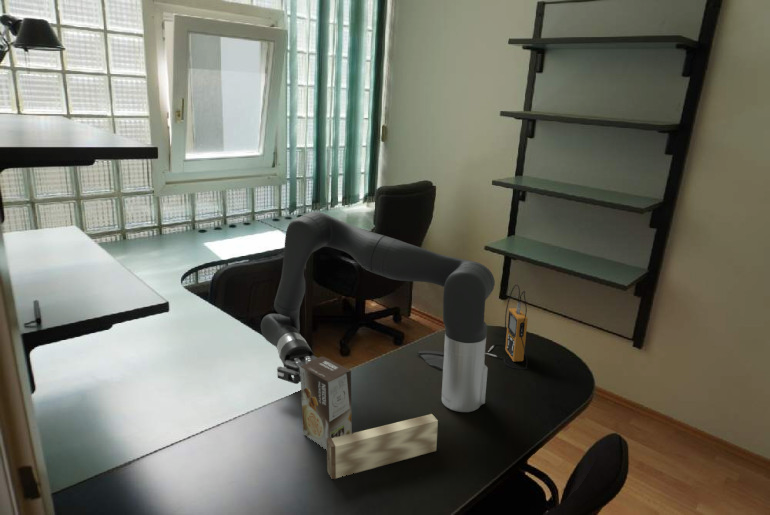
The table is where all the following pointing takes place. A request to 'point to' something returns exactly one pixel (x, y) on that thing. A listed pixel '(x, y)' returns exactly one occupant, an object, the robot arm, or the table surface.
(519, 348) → the multimeter
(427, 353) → the curved wedge
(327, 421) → the coffee box
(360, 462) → the board
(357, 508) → the table surface
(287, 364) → the robot arm
